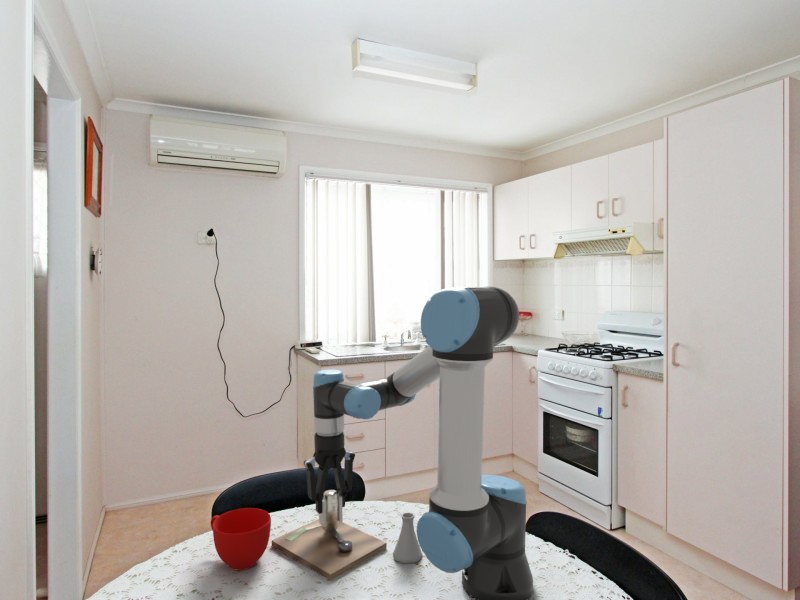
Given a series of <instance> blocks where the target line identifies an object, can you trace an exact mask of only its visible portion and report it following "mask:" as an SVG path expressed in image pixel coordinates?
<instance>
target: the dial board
mask: <svg viewBox="0 0 800 600" xmlns="http://www.w3.org/2000/svg"><path fill="white" fill-rule="evenodd" d="M336 531H337V532H338V533H339V535H340V536H341V537H342V538H343V540H344V541H351V542H352V550H351V551H350V552H340V551H339V544H338V542H337V541H336V540H335V538H334V537H333V536H332V535H331V533H330V532H329V531H327V530H325V529H324V527H323V526H322V525H321V524H320V523H319V518H318V519H315V520H313V521H312V522H310V523H309V522H308V523H307V524H304V525H302V526H300V527H297V528H296V529H293V530H291V531H290V532H289V531H288V532H287V533H285V534H283V535H280V536H278V537H276V538H274V539H271V547H272V548H274V549H275V550H277V551H278V552H280V553H282V554H284V555H286V556H287V557H289V558H290V559H292V560H294V561H296V562H298V563H299V564H301V565H303V566H304V567H306V568H307V569H309V570H311V571H313V572H315V573H316V574H318V575H319V576H321V577H323V578H325V579H326V580H328V581H330V582H331V581H334V580H335V579H337V578H339V577H341V576H342V575H344V574H345V573H348V572H349V571H351V570H353V569H354V568H356V567H357V566H358V567H359V565H362V563H365V562H367V561H368V560H370V559H372V558H373V557H375V556H376V555H378V554H380V553H382V552H384V551H385V550H387V542H386V541H384V540H382V539H380V538H377V537H375V536H373V535H371V534H368V533H366V532H364V531H362V530H360V529H358V528H356V527H354V526H352V525H350V524H347V523H345V522H344V521H343V522H339V521H338V528H337V529H336Z"/></svg>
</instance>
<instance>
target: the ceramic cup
mask: <svg viewBox="0 0 800 600" xmlns="http://www.w3.org/2000/svg"><path fill="white" fill-rule="evenodd" d="M271 527H272V516H271V514H270V513H269V512H268V511H266V510H264V509H260V508H255V507H244V508H237V509H233V510H229V511H226V512H224V513H222V514H220V515H217V514H216V515H214V516H212V518H210V528H211V530H212V536H213V543H214V544H213V545H214V548H215V551H216V553H217V555H218V557H219V558H220V560H221V561H222V562H223V563H224V564H225V565H226V566H227V567H228V568H229V569H230V570H234V571H243V570H247V569H251V568H252V567H254V566H255V565H256V564H257V563H258V561H259V560H260V559H261V558H262V556H263V555H264V553H265V552H266V550H267V548H268V544H269V540H270V536H271Z"/></svg>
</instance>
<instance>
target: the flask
mask: <svg viewBox="0 0 800 600" xmlns="http://www.w3.org/2000/svg"><path fill="white" fill-rule="evenodd" d="M400 516H401V517H400V518H401V519H402V523H401V524H402V525H401V529H400V533H399V536H398V538H397V541H396V544H395V547H394V549H393V552H392V554H393V555H392V556H393V559H394V561H396V562H400V563H403V564H411V563H412V564H414V563H418V562H419V561H420V560H421V559H423V556H424V555H423V551H422V549H421V547H420V544H419V542H418V538H417V533H416V532H415V527H414V519H415V513H414V512H413V513H412V512H411V511H410V512H408V511H407V512H406V511H405V512H403V513H401V515H400Z"/></svg>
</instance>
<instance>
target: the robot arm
mask: <svg viewBox="0 0 800 600" xmlns="http://www.w3.org/2000/svg"><path fill="white" fill-rule="evenodd" d="M519 322H520V310H519V307H518V304H517V302H516V300H515V298H513V296H511V294H510V293H509V292H508V291H506V290H504V289H502V288H499V287H496V286H475V287H474V286H472V287H471V286H467V287H466V286H456V287H455V286H453V287H448V288H443V289H440V290H439V291H436V292H435V293H434V294H432V296H431V297H430V298H429V299H428V300H427V301H426V303H425V305H424V306H423V309H422V311H421V316H420V330H421V335H422V337H423V338H425V342H426V344H427V347H425V348H424V349H423V350H422V351H420V352H418V353H417V354H416V355H415V356H414V357H412V358H411V359H409V360H408V361H407V362H406V363H405V364H403V365H402V366H401V367H399V368H398V369H396V370H395V371H394V372H393V373H391V374H389V375H388V376H387V377H384V378H379V379H373V380H370V381H364V382H363V381H362V382H359V383H352V382H347V381H345V377H344V373H343V372H342V371H341V370H339V369H324V370H323V369H322V370H318V371H316V372H315V373H314V374H313V386H312V390H313V391H312V393H313V394H312V395H313V426H314V427H313V428H314V429H313V430H314V432H315V433H314V435H313V438H314V441H313V442H314V453H313V456H312V457H311V458H310V459H305V460H304V461H303V465H304V467H305V470H306V472H305V473H306V484H307V496H308V498H309V499H310V500H311V501H312V502H315V511H316V513H317V514H318V519H319V523H320V524H321V525H322V526H323V527H326V501H325V500H324V492H325V491H326V490H325V488H326V483H327V482H326V481H327V475H329V470H331V469H333V470H332V471H333V475H334V479H335V483H336V489H337V490H336V491H337V492H338V521H339V522H343V523H344V521H343V519H344V518H343V516H344V514H343V508H345V507H346V497H347V496H348V493H349V492H352V491H353V473H354V472H353V470H354V467H353V466H354V460H355V457H356V453H354V452H353V451H351V450H346V449H345V432H344V430H345V415H346V416H349V417H351V418H354V419H359V420H370V419H373V418H374V417H375V415H377V413H379V412H380V411H383V410H387V409H391V408H395V407H402V406H404V405H407V404H409V403H411V402H412V401H414V399H416V398H415V397H416V396H417V394H418V393H419V392H421V391H423V390H424V389H425V388H427V387H428V386H430V385H431V384H433V383H434V382H436V381H437V380H438V379H439V389H438V390H439V395H438V397H439V402H438V435H437V437H438V441H437V442H438V443H437V482H436V483H437V484H435V486H433V488H431V490H430V491H429V494H428V495H429V498H428V500H429V501H428V503H429V504H428V511H426V512H424V513H423V514H422V515H421V517H420V518H418V521H417V524H416V538H417V540H418V543H419V546H420V549H421V552H422V553H424V555H425V557H426V559H427V560H428V562H430V563H431V564H432V565H433V566H434V567H435V568H437V569H438V570H440V571H442V572H444V573H448V574H454V573H455V574H456V573H458V572H460V571H461V584H462V587H463V589H464V590H465V592H466V593H467V594H468V595H469V596H470V597H472V598H473V599H475V600H527V599H528V600H529V599H530V597H532V596H533V592H534V578H533V577H534V576H533V574H532V571H531V567H530V564H529V560H528V558H527V553H526V528H527V527H526V526H527V524H526V521H527V519H526V517H527V515H526V514H527V504H528V502H527V498H526V497H527V496H526V489H525V487H524V486H523V484H522V483H521V482H519V481H517V480H515V479H513V478H510V477H507V476H502V475H496V474H483V449H484V448H483V447H484V446H483V445H484V444H483V442H484V440H483V439H484V413H485V412H484V406H485V405H484V404H485V401H484V400H485V371H486V370H485V369H486V366H488V364H490V363H491V362H492V361H493V359H494V348H495V347H496V346H499V345H500V344H501V343H504V342H505V341H507V340H508V339H510V337H512V336H513V334H515V332H516V330H517V328H518V325H519ZM343 459H344V464H343V465H344V468H342V463H341V462H342V461H343ZM316 464H317V465H318V468H317V470H318V474H317V480H316V474H315V467H316ZM343 469H344V471H343ZM343 473H344V474H343Z"/></svg>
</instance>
